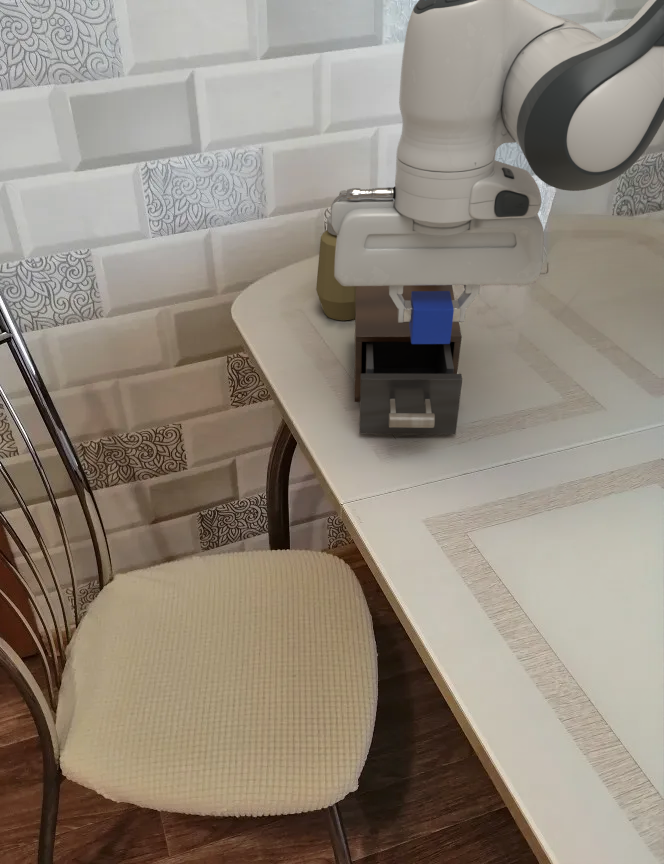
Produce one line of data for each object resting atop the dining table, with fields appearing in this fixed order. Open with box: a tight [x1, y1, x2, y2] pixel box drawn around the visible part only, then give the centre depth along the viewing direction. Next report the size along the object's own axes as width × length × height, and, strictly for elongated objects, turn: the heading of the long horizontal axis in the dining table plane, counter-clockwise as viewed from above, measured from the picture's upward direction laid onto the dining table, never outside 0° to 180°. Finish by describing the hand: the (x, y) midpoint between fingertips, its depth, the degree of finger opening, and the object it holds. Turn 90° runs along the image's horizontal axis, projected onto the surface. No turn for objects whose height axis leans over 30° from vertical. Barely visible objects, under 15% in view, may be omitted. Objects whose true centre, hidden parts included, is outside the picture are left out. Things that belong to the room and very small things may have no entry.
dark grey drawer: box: [358, 342, 463, 435], centre depth 96 cm, size 18×11×8 cm, turn 177°
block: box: [409, 291, 454, 344], centre depth 83 cm, size 4×4×4 cm
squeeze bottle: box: [315, 189, 356, 321], centre depth 113 cm, size 8×8×18 cm
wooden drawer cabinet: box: [353, 285, 463, 403], centre depth 104 cm, size 15×13×10 cm
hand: (430, 319), depth 83 cm, fingers closed on block, 4 cm apart
